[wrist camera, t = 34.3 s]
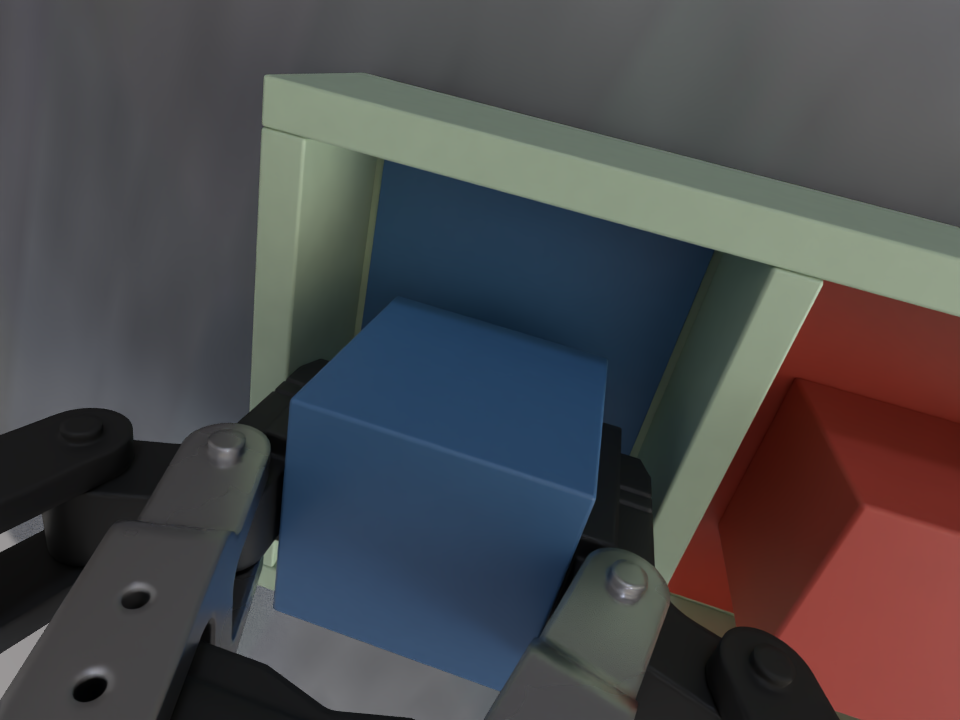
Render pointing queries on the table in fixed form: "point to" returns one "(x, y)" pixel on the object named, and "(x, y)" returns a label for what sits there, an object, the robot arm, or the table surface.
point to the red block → (854, 550)
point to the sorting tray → (598, 280)
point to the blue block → (439, 488)
